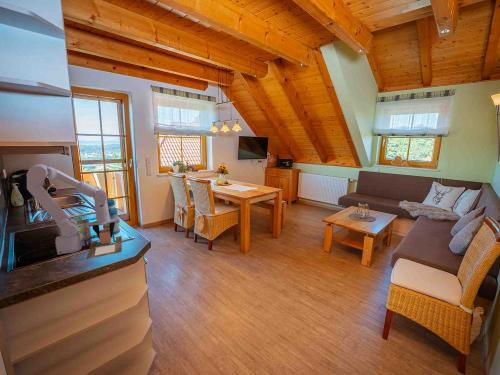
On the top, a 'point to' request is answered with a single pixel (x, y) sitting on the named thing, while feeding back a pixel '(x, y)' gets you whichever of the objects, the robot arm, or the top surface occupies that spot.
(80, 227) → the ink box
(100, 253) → the cream square
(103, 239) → the terracotta block
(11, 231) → the top surface
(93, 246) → the walnut pocket board
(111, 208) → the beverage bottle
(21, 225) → the top surface
